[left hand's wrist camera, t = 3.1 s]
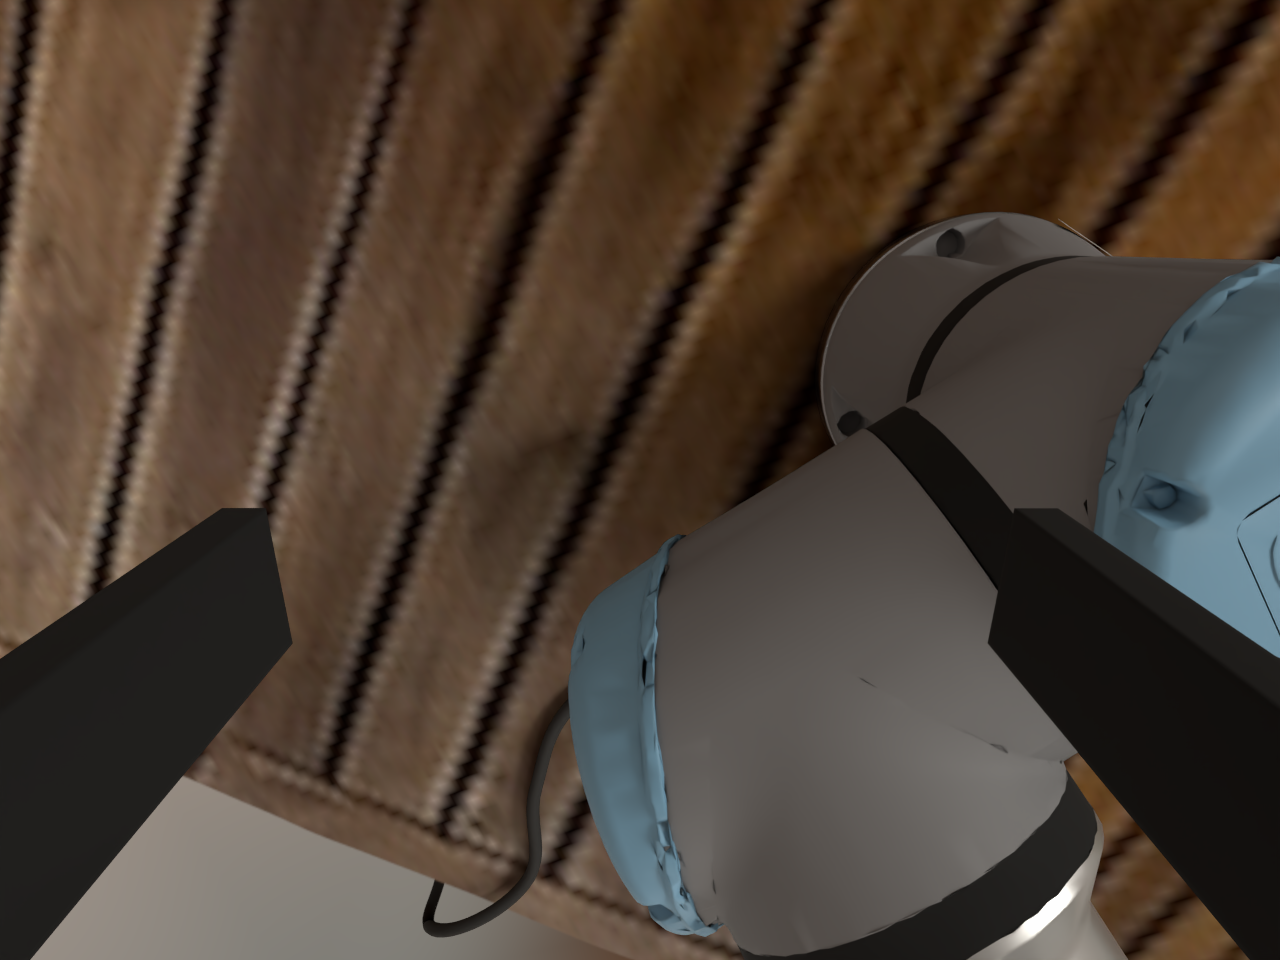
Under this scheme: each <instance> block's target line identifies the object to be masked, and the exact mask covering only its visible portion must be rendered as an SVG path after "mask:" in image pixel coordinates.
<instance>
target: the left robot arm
mask: <svg viewBox="0 0 1280 960" xmlns="http://www.w3.org/2000/svg"><path fill="white" fill-rule="evenodd" d="M1060 221H1061V220H1060ZM1063 223H1064V222H1063ZM1064 224H1065V223H1064ZM1066 225H1067V224H1066ZM1067 226H1068V225H1067ZM1069 227H1070V226H1069ZM1070 228H1071V227H1070ZM1071 229H1072V228H1071ZM1073 230H1074V229H1073ZM1074 231H1075V230H1074ZM1076 232H1077V231H1076ZM1077 233H1078V232H1077ZM1079 234H1080V233H1079ZM1080 235H1081V234H1080ZM1082 236H1083V235H1082ZM1083 237H1084V236H1083ZM1085 238H1086V237H1085ZM1086 239H1087V238H1086ZM1087 240H1088V239H1087ZM1089 241H1090V240H1089ZM1090 242H1091V241H1090ZM1092 243H1093V242H1092ZM1093 244H1094V243H1093ZM1095 245H1096V244H1095ZM1096 246H1097V245H1096ZM1098 247H1099V246H1098ZM1099 248H1100V247H1099ZM1101 249H1102V248H1101ZM1102 250H1103V249H1102ZM1103 251H1104V250H1103ZM1105 252H1106V251H1105ZM1106 253H1107V252H1106ZM1108 254H1109V253H1108ZM1109 255H1110V254H1109ZM1111 256H1112V255H1111ZM1111 256H1105V255H1104V254H1102V253H1101V252H1100V251H1098V250H1097V249H1096V248H1095V247H1093V246H1092V245H1091V244H1089V243H1088V242H1087V241H1086V240H1084V239H1083V238H1081V237H1080V236H1078V235H1077V234H1075V233H1073V232H1071V231H1070V230H1068V229H1066V228H1064V227H1061V226H1059V225H1057V224H1054V223H1051V222H1049V221H1047V220H1043V219H1040V218H1037V217H1033V216H1029V215H1023V214H1018V213H1006V212H989V213H975V214H966V215H959V216H953V217H949V218H945V219H941V220H938V221H935V222H932V223H929V224H926V225H924V226H922V227H919V228H917V229H915V230H913V231H911V232H909V233H907V234H905V235H903V236H902V237H900V238H898V239H896V240H895V241H894V242H892V243H891V244H889V245H888V246H886V247H885V248H883V249H882V250H881V251H880V252H879V253H877V254H876V255H875V256H874V257H873V258H871V259H870V260H869V261H868V262H867V263H866V264H865V265H864V266H863V267H862V268H861V269H860V270H859V272H858V273H857V274H856V275H855V276H854V278H853V279H852V280H851V281H850V282H849V284H848V285H847V287H846V288H845V290H844V291H843V292H842V294H841V295H840V297H839V299H838V301H837V302H836V304H835V306H834V308H833V309H832V312H831V314H830V316H829V318H828V320H827V323H826V325H825V328H824V331H823V334H822V337H821V341H820V345H819V349H818V354H817V361H816V373H815V386H816V397H817V404H818V409H819V412H820V416H821V420H822V423H823V425H824V428H825V430H826V433H827V435H828V437H829V439H830V441H831V443H832V444H833V446H834V447H832V448H830V449H829V450H827V451H825V452H824V453H822V454H821V455H819V456H817V457H816V458H814V459H813V460H811V461H809V462H808V463H806V464H805V465H803V466H801V467H800V468H798V469H796V470H795V471H793V472H792V473H790V474H788V475H787V476H785V477H784V478H782V479H780V480H779V481H777V482H776V483H774V484H772V485H771V486H769V487H767V488H766V489H764V490H763V491H761V492H759V493H758V494H756V495H755V496H753V497H751V498H749V499H748V500H746V501H744V502H743V503H741V504H739V505H738V506H736V507H734V508H733V509H731V510H729V511H728V512H726V513H724V514H723V515H721V516H719V517H718V518H716V519H714V520H713V521H711V522H709V523H707V524H706V525H704V526H702V527H701V528H699V529H697V530H696V531H694V532H692V533H691V534H689V535H687V536H686V535H679V534H677V535H675V536H674V537H672V538H670V539H668V540H667V541H666V542H664V544H663V545H662V546H661V547H660V549H659V550H658V552H657V554H656V555H654V556H653V557H651V558H650V559H648V560H647V561H645V562H644V563H642V564H641V565H640V566H638V567H637V568H635V569H634V570H632V571H631V572H629V573H628V574H626V575H625V576H623V577H622V578H621V579H619V580H618V581H616V582H615V583H613V584H612V585H610V586H609V587H607V588H606V589H605V590H603V591H602V592H601V593H600V594H599V595H598V596H597V597H596V598H595V599H594V600H593V601H592V603H591V604H590V605H589V607H588V608H587V610H586V611H585V613H584V615H583V616H582V619H581V621H580V623H579V625H578V628H577V631H576V634H575V638H574V644H573V647H572V650H571V672H570V675H569V682H568V697H569V699H568V700H567V701H566V702H565V703H564V704H563V705H562V707H561V708H560V709H559V710H558V712H557V713H556V715H555V716H554V718H553V719H552V721H551V723H550V724H549V726H548V729H547V731H546V733H545V735H544V738H543V741H542V744H541V747H540V750H539V753H538V757H537V761H536V765H535V769H534V773H533V777H532V781H531V785H530V788H529V793H528V798H527V828H528V837H529V863H528V867H527V869H526V871H525V873H524V875H523V876H522V878H521V879H520V880H519V882H518V883H517V884H516V885H515V886H514V887H513V888H512V889H511V890H510V891H509V892H508V893H507V894H506V895H504V896H503V897H502V898H501V899H499V900H498V901H497V902H495V903H494V904H492V905H491V906H489V907H487V908H486V909H484V910H482V911H481V912H479V913H477V914H475V915H473V916H470V917H468V918H466V919H463V920H460V921H457V922H452V923H437V922H435V921H434V915H435V911H436V908H437V905H438V902H439V899H440V896H441V893H442V890H443V887H444V883H442V882H440V881H437V880H434V883H433V887H432V890H431V892H430V895H429V898H428V901H427V904H426V906H425V909H424V913H423V918H422V923H423V928H424V930H425V932H427V933H428V934H429V935H431V936H434V937H450V936H455V935H458V934H462V933H465V932H468V931H470V930H473V929H475V928H477V927H479V926H481V925H483V924H485V923H487V922H489V921H491V920H492V919H494V918H495V917H497V916H499V915H500V914H501V913H503V912H504V911H506V910H507V909H508V908H509V907H511V906H512V905H513V904H514V903H516V902H517V901H518V900H519V899H520V898H521V897H522V896H523V895H524V894H525V892H526V891H527V890H528V889H529V888H530V886H531V885H532V883H533V882H534V880H535V878H536V876H537V873H538V871H539V867H540V863H541V857H542V840H541V830H540V818H539V804H540V796H541V791H542V787H543V784H544V780H545V776H546V772H547V768H548V764H549V760H550V757H551V753H552V750H553V747H554V744H555V742H556V739H557V737H558V735H559V733H560V731H561V730H562V728H563V726H564V725H565V723H566V722H567V721H568V719H569V718H570V722H571V730H572V737H573V743H574V749H575V754H576V759H577V764H578V768H579V772H580V775H581V779H582V783H583V787H584V790H585V794H586V797H587V800H588V803H589V806H590V809H591V812H592V816H593V819H594V821H595V824H596V826H597V829H598V832H599V834H600V836H601V839H602V841H603V844H604V846H605V848H606V851H607V853H608V855H609V857H610V859H611V861H612V863H613V865H614V867H615V869H616V871H617V872H618V874H619V876H620V878H621V879H622V881H623V883H624V884H625V886H626V887H627V889H628V890H629V892H630V893H631V895H632V896H633V897H634V899H635V900H636V901H637V902H638V903H640V904H642V905H648V909H649V912H650V915H651V918H652V919H653V920H655V921H656V922H657V923H658V924H659V925H661V926H662V927H663V928H664V929H666V930H668V931H670V932H673V933H675V934H681V935H689V934H693V933H695V934H697V935H701V936H705V937H706V936H708V935H710V934H712V933H714V932H716V931H717V929H718V928H720V927H721V926H722V925H726V926H727V927H728V929H729V931H730V932H731V934H732V936H733V938H734V940H735V942H736V943H737V945H738V947H739V949H740V951H741V953H742V955H743V957H744V959H745V960H1128V959H1127V957H1126V956H1125V954H1124V953H1123V951H1122V950H1121V948H1120V947H1119V945H1118V943H1117V942H1116V940H1115V939H1114V937H1113V936H1112V934H1111V933H1110V931H1109V929H1108V928H1107V926H1106V925H1105V923H1104V922H1103V920H1102V919H1101V917H1100V915H1099V914H1098V912H1097V911H1096V909H1095V908H1094V906H1093V905H1092V903H1091V901H1090V898H1091V894H1092V890H1093V886H1094V882H1095V878H1096V874H1097V870H1098V866H1099V862H1100V858H1101V854H1102V849H1103V842H1104V834H1103V827H1102V823H1101V822H1100V820H1099V818H1098V816H1097V815H1096V813H1095V811H1094V809H1093V808H1092V806H1091V805H1090V804H1089V802H1088V801H1087V800H1086V798H1085V797H1084V795H1083V794H1082V792H1081V791H1080V789H1079V788H1078V786H1077V785H1076V783H1075V782H1074V780H1073V779H1072V777H1071V776H1070V774H1069V773H1068V771H1067V770H1066V768H1065V765H1064V762H1063V761H1065V760H1066V759H1068V758H1069V757H1071V756H1073V755H1074V754H1076V753H1079V754H1080V755H1081V757H1082V758H1083V759H1084V760H1085V762H1086V763H1087V764H1088V765H1089V766H1090V768H1091V769H1092V770H1093V771H1094V772H1095V774H1096V775H1097V776H1098V777H1099V778H1100V780H1101V781H1102V782H1103V783H1104V784H1105V786H1106V787H1107V788H1108V789H1109V790H1110V792H1111V793H1112V794H1113V795H1114V796H1115V798H1116V799H1117V800H1118V801H1119V803H1120V804H1121V805H1122V806H1123V807H1124V809H1125V810H1126V811H1127V812H1128V813H1129V815H1130V816H1131V817H1132V818H1133V819H1134V821H1135V822H1136V823H1137V824H1138V825H1139V827H1140V828H1141V829H1142V830H1143V831H1144V833H1145V834H1146V835H1147V836H1148V838H1149V839H1150V840H1151V841H1152V842H1153V844H1154V845H1155V846H1156V847H1157V848H1158V850H1159V851H1160V852H1161V853H1162V854H1163V856H1164V857H1165V858H1166V859H1167V860H1168V862H1169V863H1170V864H1171V865H1172V866H1173V868H1174V869H1175V870H1176V871H1177V872H1178V874H1179V875H1180V876H1181V877H1182V879H1183V880H1184V881H1185V882H1186V883H1187V885H1188V886H1189V887H1190V888H1191V889H1192V891H1193V892H1194V893H1195V894H1196V895H1197V897H1198V898H1199V899H1200V900H1201V901H1202V903H1203V904H1204V905H1205V906H1206V907H1207V909H1208V910H1209V911H1210V912H1211V913H1212V915H1213V916H1214V917H1215V918H1216V920H1217V921H1218V922H1219V923H1220V924H1221V926H1222V927H1223V928H1224V929H1225V930H1226V932H1227V933H1228V934H1229V935H1230V936H1231V938H1232V939H1233V940H1234V941H1235V942H1236V944H1237V945H1238V946H1239V947H1240V948H1241V950H1242V951H1243V952H1244V953H1245V954H1246V956H1247V957H1248V958H1249V959H1250V960H1280V257H1276V258H1275V259H1274V260H1235V259H1186V258H1149V257H1113V256H1112V257H1111ZM291 645H292V638H291V633H290V628H289V623H288V618H287V613H286V608H285V603H284V598H283V593H282V588H281V583H280V578H279V573H278V568H277V563H276V558H275V553H274V548H273V543H272V537H271V532H270V527H269V522H268V517H267V512H266V508H222V509H220V510H219V511H217V512H216V513H214V514H213V515H211V516H210V517H208V518H207V519H205V520H204V521H202V522H201V523H200V524H198V525H197V526H195V527H194V528H192V529H191V530H189V531H188V532H186V533H185V534H183V535H182V536H180V537H179V538H177V539H176V540H175V541H173V542H172V543H170V544H169V545H167V546H166V547H164V548H163V549H161V550H160V551H158V552H157V553H155V554H154V555H152V556H151V557H149V558H148V559H147V560H145V561H144V562H142V563H141V564H139V565H138V566H136V567H135V568H133V569H132V570H130V571H129V572H127V573H126V574H124V575H123V576H122V577H120V578H119V579H117V580H116V581H114V582H113V583H111V584H110V585H108V586H107V587H105V588H104V589H102V590H101V591H99V592H98V593H97V594H95V595H94V596H92V597H91V598H89V599H88V600H86V601H85V602H83V603H82V604H80V605H79V606H77V607H76V608H74V609H73V610H71V611H70V612H69V613H67V614H66V615H64V616H63V617H61V618H60V619H58V620H57V621H55V622H54V623H52V624H51V625H49V626H48V627H46V628H45V629H44V630H42V631H41V632H39V633H38V634H36V635H35V636H33V637H32V638H30V639H29V640H27V641H26V642H24V643H23V644H21V645H20V646H19V647H17V648H16V649H14V650H13V651H11V652H10V653H8V654H7V655H5V656H4V657H2V658H1V659H0V960H30V959H31V958H32V957H33V956H34V954H35V953H36V952H37V951H38V950H39V948H40V947H41V946H42V945H43V944H44V942H45V941H46V940H47V939H48V938H49V936H50V935H51V934H52V933H53V931H54V930H55V929H56V928H57V927H58V926H59V924H60V923H61V922H62V921H63V920H64V918H65V917H66V916H67V915H68V913H69V912H70V911H71V910H72V909H73V907H74V906H75V905H76V904H77V903H78V901H79V900H80V899H81V898H82V897H83V895H84V894H85V893H86V892H87V890H88V889H89V888H90V887H91V886H92V884H93V883H94V882H95V881H96V880H97V879H98V877H99V876H100V875H101V874H102V872H103V871H104V870H105V869H106V868H107V866H108V865H109V864H110V863H111V862H112V860H113V859H114V858H115V857H116V856H117V854H118V853H119V852H120V851H121V850H122V848H123V847H124V846H125V845H126V843H127V842H128V841H129V840H130V839H131V838H132V836H133V835H134V834H135V833H136V831H137V830H138V829H139V828H140V827H141V825H142V824H143V823H144V822H145V821H146V819H147V818H148V817H149V816H150V815H151V813H152V812H153V811H154V810H155V809H156V807H157V806H158V805H159V804H160V802H161V801H162V800H163V799H164V798H165V796H166V795H167V794H168V793H169V792H170V790H171V789H172V788H173V787H174V786H175V784H176V783H177V782H178V781H179V780H180V778H181V777H182V776H183V775H184V774H185V772H186V771H187V770H188V769H189V768H190V766H191V765H192V764H193V763H194V762H195V760H196V759H197V758H198V757H199V755H200V754H201V753H202V752H203V751H204V749H205V748H206V747H207V746H208V745H209V743H210V742H211V741H212V740H213V739H214V737H215V736H216V735H217V734H218V733H219V731H220V730H221V729H222V728H223V727H224V725H225V724H226V723H227V722H228V721H229V719H230V718H231V717H232V716H233V714H234V713H235V712H236V711H237V710H238V708H239V707H240V706H241V705H242V704H243V702H244V701H245V700H246V699H247V698H248V696H249V695H250V694H251V693H252V692H253V690H254V689H255V688H256V687H257V686H258V684H259V683H260V682H261V681H262V680H263V678H264V677H265V676H266V675H267V673H268V672H269V671H270V670H271V669H272V667H273V666H274V665H275V664H276V663H277V661H278V660H279V659H280V658H281V657H282V655H283V654H284V653H285V652H286V651H287V649H288V648H289V647H290V646H291Z"/></svg>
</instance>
